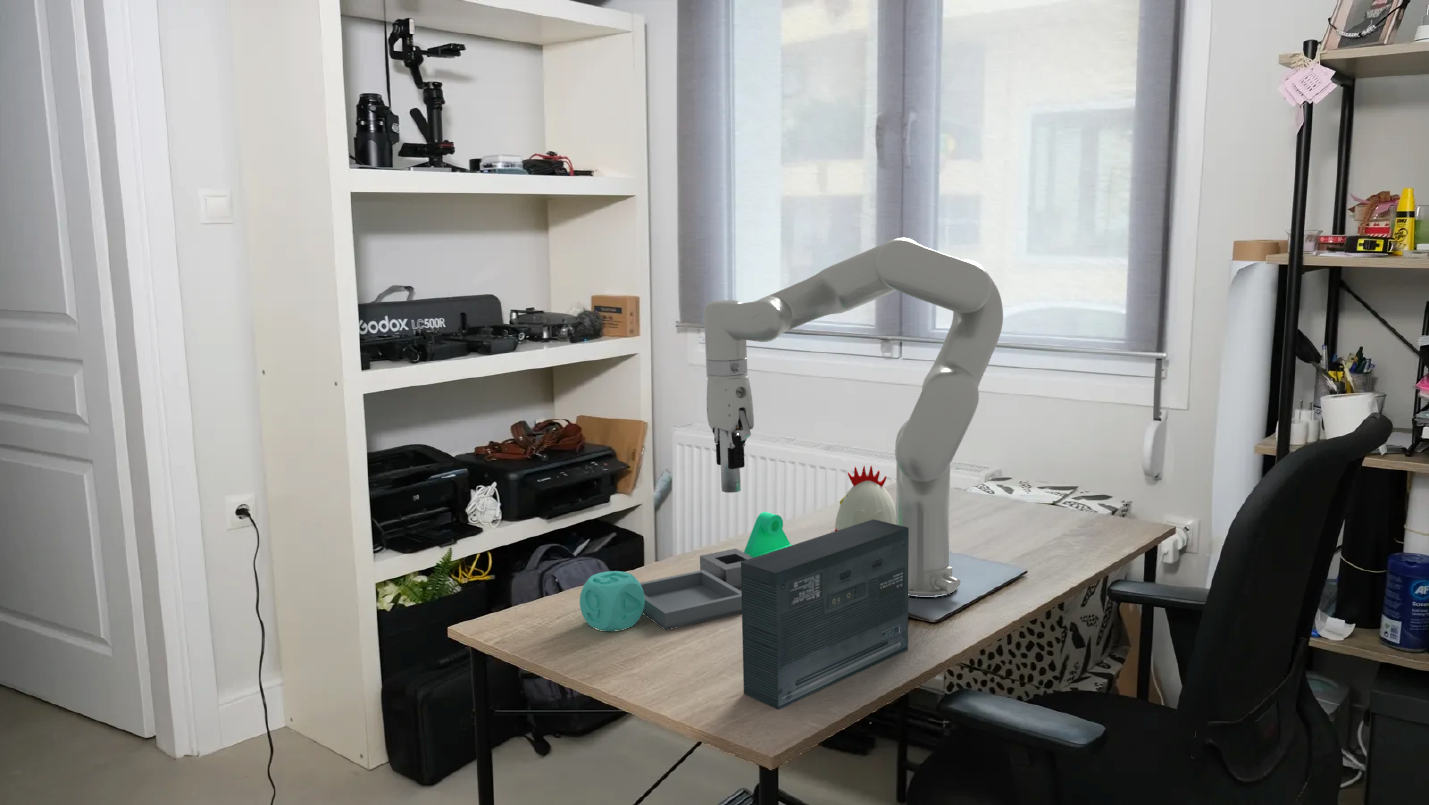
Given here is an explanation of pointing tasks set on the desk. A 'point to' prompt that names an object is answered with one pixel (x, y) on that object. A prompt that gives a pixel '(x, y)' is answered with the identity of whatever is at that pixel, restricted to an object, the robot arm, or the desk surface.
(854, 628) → the cassette player
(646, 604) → the tray
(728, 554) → the block
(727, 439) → the pin
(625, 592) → the decorative dice
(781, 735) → the desk surface
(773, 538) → the green mounting bracket
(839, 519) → the kitchen timer
